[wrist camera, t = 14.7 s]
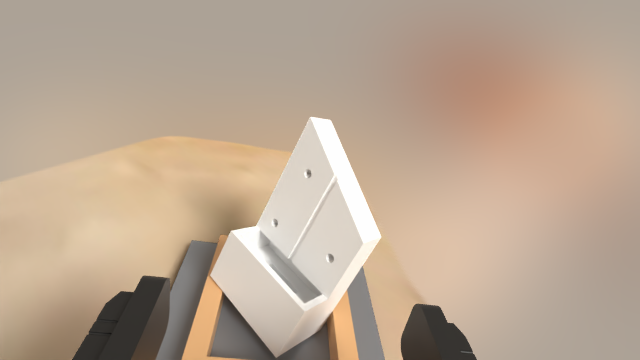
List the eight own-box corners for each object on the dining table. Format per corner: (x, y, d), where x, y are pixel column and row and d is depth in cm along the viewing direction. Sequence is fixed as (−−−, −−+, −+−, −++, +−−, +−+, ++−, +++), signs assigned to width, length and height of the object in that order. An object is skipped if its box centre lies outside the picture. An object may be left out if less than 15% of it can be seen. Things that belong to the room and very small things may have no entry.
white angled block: (232, 188, 25) (330, 120, 20) (285, 340, 22) (410, 303, 18) (183, 191, 22) (286, 112, 17) (239, 367, 19) (374, 332, 15)
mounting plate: (117, 434, 15) (114, 395, 14) (191, 252, 26) (192, 222, 25) (396, 448, 17) (413, 414, 16) (357, 271, 28) (366, 243, 27)
